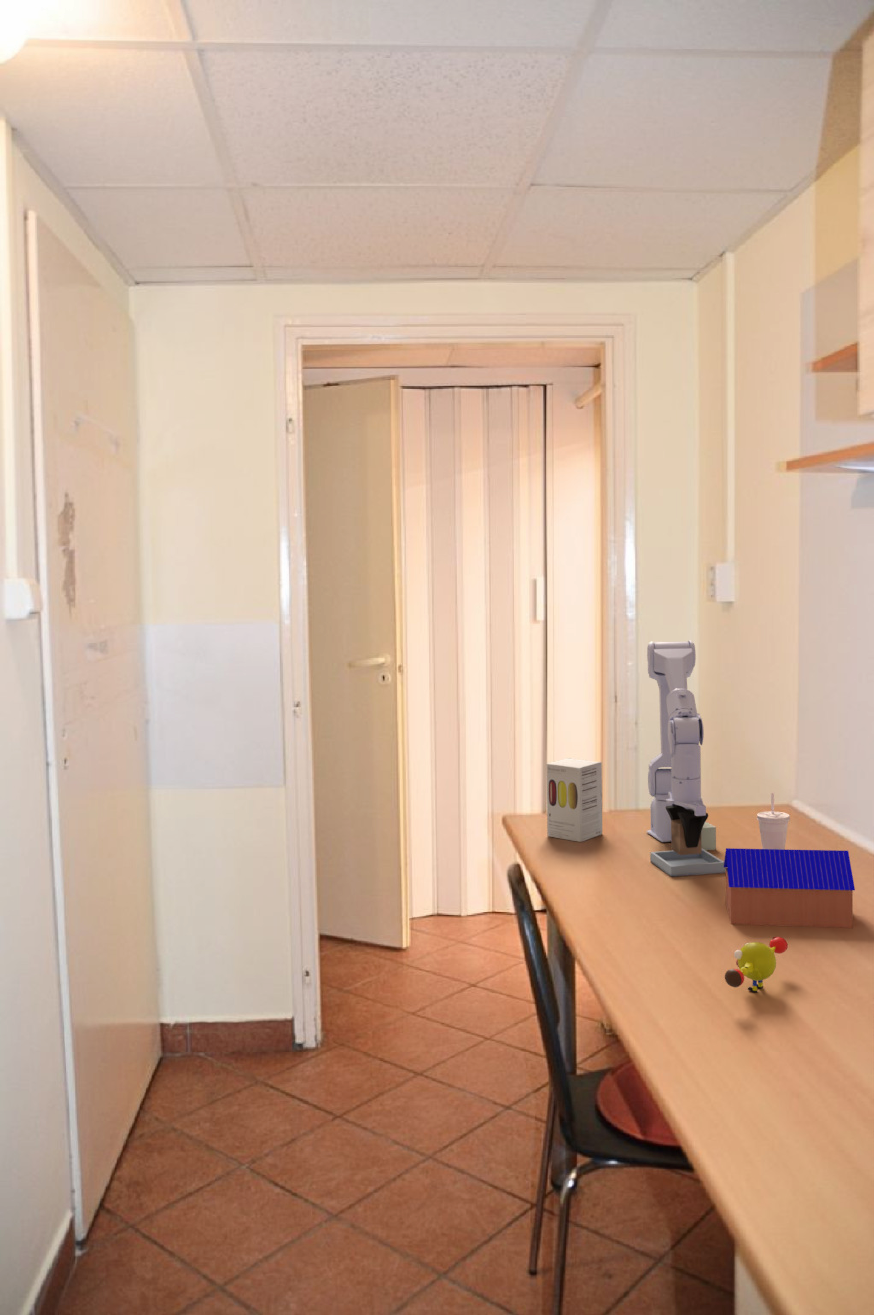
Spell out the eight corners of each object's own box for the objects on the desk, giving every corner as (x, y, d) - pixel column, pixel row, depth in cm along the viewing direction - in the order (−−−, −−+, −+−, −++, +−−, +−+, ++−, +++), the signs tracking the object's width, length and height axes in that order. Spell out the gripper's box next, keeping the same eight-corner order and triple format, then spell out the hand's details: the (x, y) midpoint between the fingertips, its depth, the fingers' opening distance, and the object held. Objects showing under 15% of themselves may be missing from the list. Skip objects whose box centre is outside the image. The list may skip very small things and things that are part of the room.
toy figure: (762, 966, 160) (762, 922, 159) (798, 974, 156) (798, 929, 156) (709, 1006, 146) (709, 957, 145) (748, 1015, 142) (748, 966, 142)
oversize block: (678, 845, 231) (677, 822, 231) (704, 843, 232) (703, 820, 232) (689, 852, 225) (689, 828, 225) (716, 850, 226) (715, 826, 226)
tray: (650, 861, 218) (650, 852, 218) (702, 857, 220) (702, 848, 220) (671, 876, 207) (671, 866, 207) (725, 872, 209) (725, 862, 209)
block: (671, 849, 215) (671, 819, 215) (692, 847, 216) (692, 818, 215) (679, 855, 211) (679, 824, 210) (701, 853, 211) (701, 823, 211)
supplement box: (546, 836, 241) (544, 763, 240) (568, 828, 248) (567, 757, 247) (581, 842, 235) (580, 767, 234) (604, 834, 242) (602, 761, 241)
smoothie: (786, 857, 218) (785, 790, 217) (793, 866, 212) (793, 796, 211) (754, 857, 219) (753, 790, 218) (760, 866, 212) (760, 797, 211)
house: (723, 903, 190) (723, 839, 190) (841, 907, 187) (841, 841, 186) (729, 925, 179) (728, 857, 178) (855, 930, 175) (855, 860, 174)
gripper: (653, 771, 218) (654, 836, 220) (681, 785, 204) (682, 854, 205) (686, 769, 220) (687, 834, 221) (715, 782, 205) (716, 851, 206)
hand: (686, 844), depth 213 cm, fingers closed on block, 4 cm apart
